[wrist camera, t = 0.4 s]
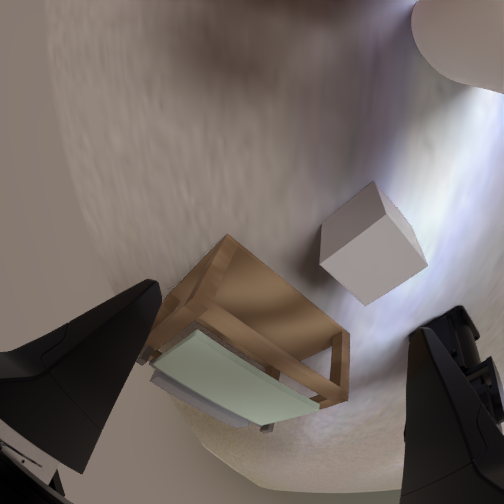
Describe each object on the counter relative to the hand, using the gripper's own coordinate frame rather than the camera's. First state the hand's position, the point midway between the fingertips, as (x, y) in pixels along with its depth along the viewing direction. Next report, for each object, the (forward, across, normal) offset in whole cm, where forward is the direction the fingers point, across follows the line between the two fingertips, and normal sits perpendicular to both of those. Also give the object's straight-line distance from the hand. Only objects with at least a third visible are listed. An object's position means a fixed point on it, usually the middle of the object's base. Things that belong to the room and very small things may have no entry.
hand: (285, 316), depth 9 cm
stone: (+13, -4, +3) cm, 14 cm away
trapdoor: (+5, +4, +15) cm, 17 cm away
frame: (+13, +4, +14) cm, 20 cm away
